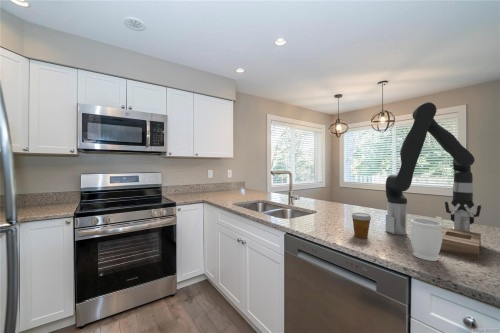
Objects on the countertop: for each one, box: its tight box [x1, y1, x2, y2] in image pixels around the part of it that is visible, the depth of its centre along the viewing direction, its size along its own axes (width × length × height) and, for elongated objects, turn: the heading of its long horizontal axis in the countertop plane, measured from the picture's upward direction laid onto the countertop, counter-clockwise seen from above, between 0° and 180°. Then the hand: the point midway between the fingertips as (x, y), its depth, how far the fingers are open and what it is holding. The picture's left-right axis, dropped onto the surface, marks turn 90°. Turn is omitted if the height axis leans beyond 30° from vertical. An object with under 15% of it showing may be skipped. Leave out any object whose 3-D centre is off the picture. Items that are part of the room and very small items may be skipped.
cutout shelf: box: [439, 226, 482, 261], centre depth 100 cm, size 24×14×6 cm, turn 131°
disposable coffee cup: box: [351, 212, 372, 239], centre depth 115 cm, size 10×10×12 cm
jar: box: [409, 218, 443, 262], centre depth 90 cm, size 11×10×15 cm
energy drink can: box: [453, 209, 471, 232], centre depth 113 cm, size 6×6×15 cm
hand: (461, 222), depth 113 cm, fingers closed on energy drink can, 6 cm apart
